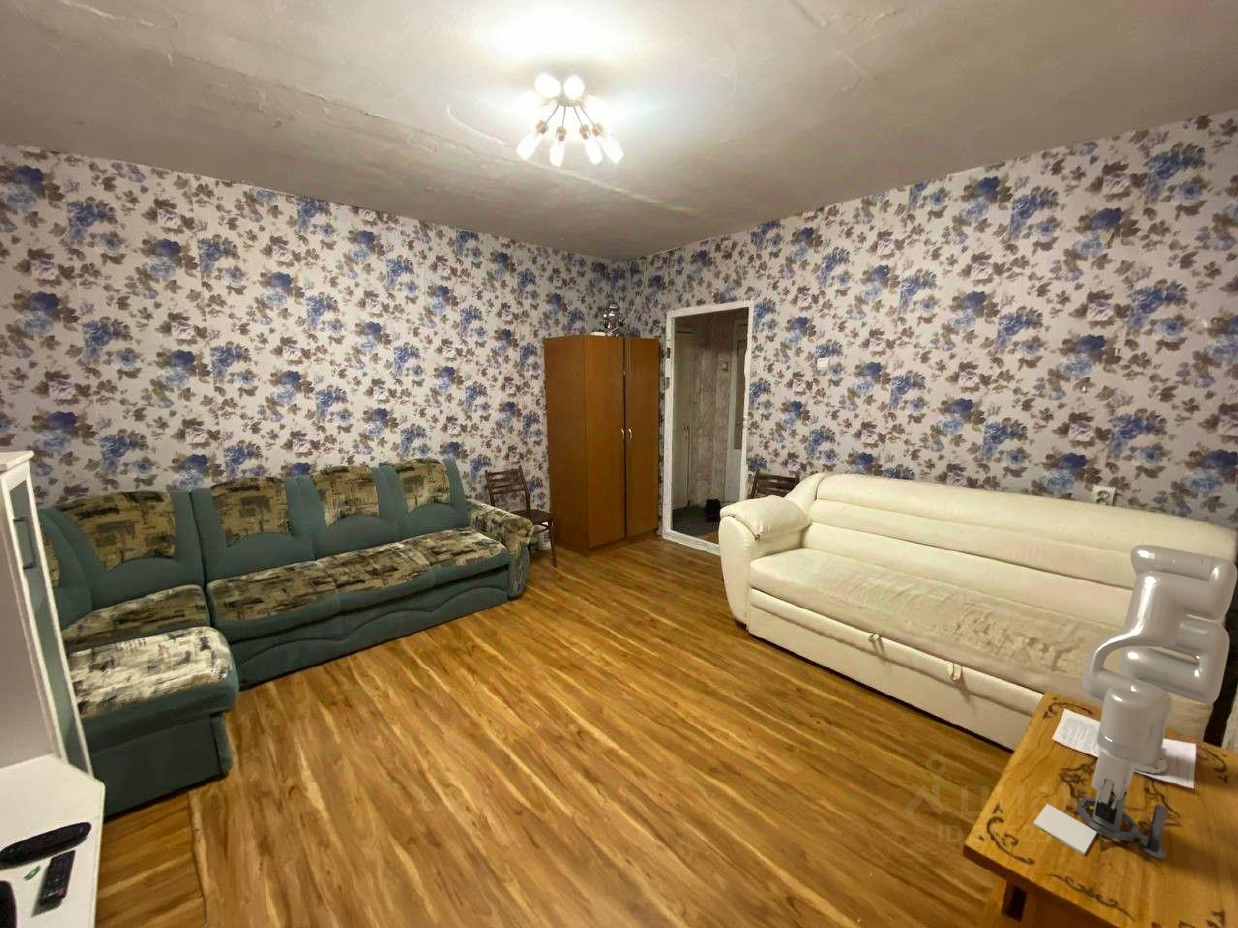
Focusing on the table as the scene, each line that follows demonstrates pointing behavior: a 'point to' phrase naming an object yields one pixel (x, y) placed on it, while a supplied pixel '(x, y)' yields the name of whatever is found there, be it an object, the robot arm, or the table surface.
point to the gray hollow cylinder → (1119, 814)
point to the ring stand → (1131, 828)
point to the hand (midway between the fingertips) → (1107, 812)
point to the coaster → (1065, 828)
